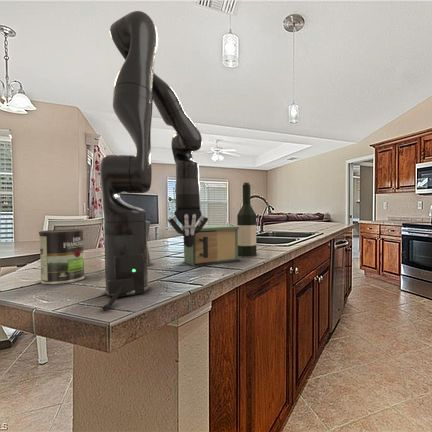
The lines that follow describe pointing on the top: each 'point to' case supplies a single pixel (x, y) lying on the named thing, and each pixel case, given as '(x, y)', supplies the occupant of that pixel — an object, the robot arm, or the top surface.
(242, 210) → the wine bottle
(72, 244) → the coffee can
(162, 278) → the top surface
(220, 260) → the cupboard
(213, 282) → the top surface
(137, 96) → the robot arm
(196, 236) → the sliding door
